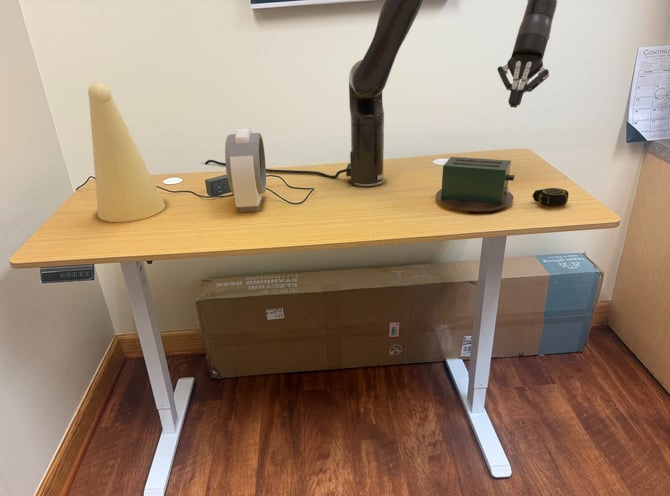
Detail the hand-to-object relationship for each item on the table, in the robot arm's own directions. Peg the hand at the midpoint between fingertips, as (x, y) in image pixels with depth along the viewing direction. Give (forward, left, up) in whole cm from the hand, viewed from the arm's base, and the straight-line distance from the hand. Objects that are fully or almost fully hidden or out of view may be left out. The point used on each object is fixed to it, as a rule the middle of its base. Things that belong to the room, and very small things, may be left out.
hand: (513, 106), depth 135 cm
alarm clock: (-68, -16, -22) cm, 73 cm away
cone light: (-100, -24, -22) cm, 105 cm away
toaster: (-9, -11, -21) cm, 26 cm away
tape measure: (+9, -13, -22) cm, 27 cm away
